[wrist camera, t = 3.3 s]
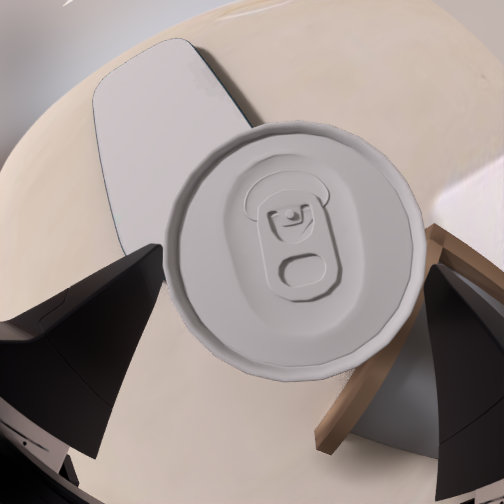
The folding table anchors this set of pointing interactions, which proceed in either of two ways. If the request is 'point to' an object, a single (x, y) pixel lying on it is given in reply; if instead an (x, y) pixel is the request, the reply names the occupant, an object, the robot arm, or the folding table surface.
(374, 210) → the beverage can
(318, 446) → the bay
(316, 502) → the folding table surface
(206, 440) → the folding table surface
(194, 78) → the external hard drive
